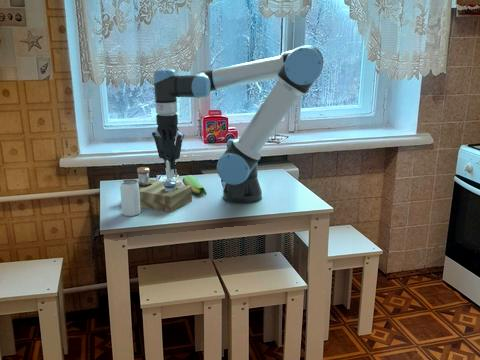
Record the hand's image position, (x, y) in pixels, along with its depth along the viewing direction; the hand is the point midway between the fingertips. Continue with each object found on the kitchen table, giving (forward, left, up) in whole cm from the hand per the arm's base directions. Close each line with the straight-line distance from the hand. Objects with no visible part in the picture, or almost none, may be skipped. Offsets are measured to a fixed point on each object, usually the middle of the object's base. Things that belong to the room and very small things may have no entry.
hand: (170, 177), depth 187 cm
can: (+7, +14, -11) cm, 20 cm away
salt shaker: (0, 0, -10) cm, 10 cm away
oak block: (+6, 0, -11) cm, 12 cm away
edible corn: (+2, -18, -11) cm, 21 cm away
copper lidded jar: (+12, 0, -6) cm, 14 cm away
